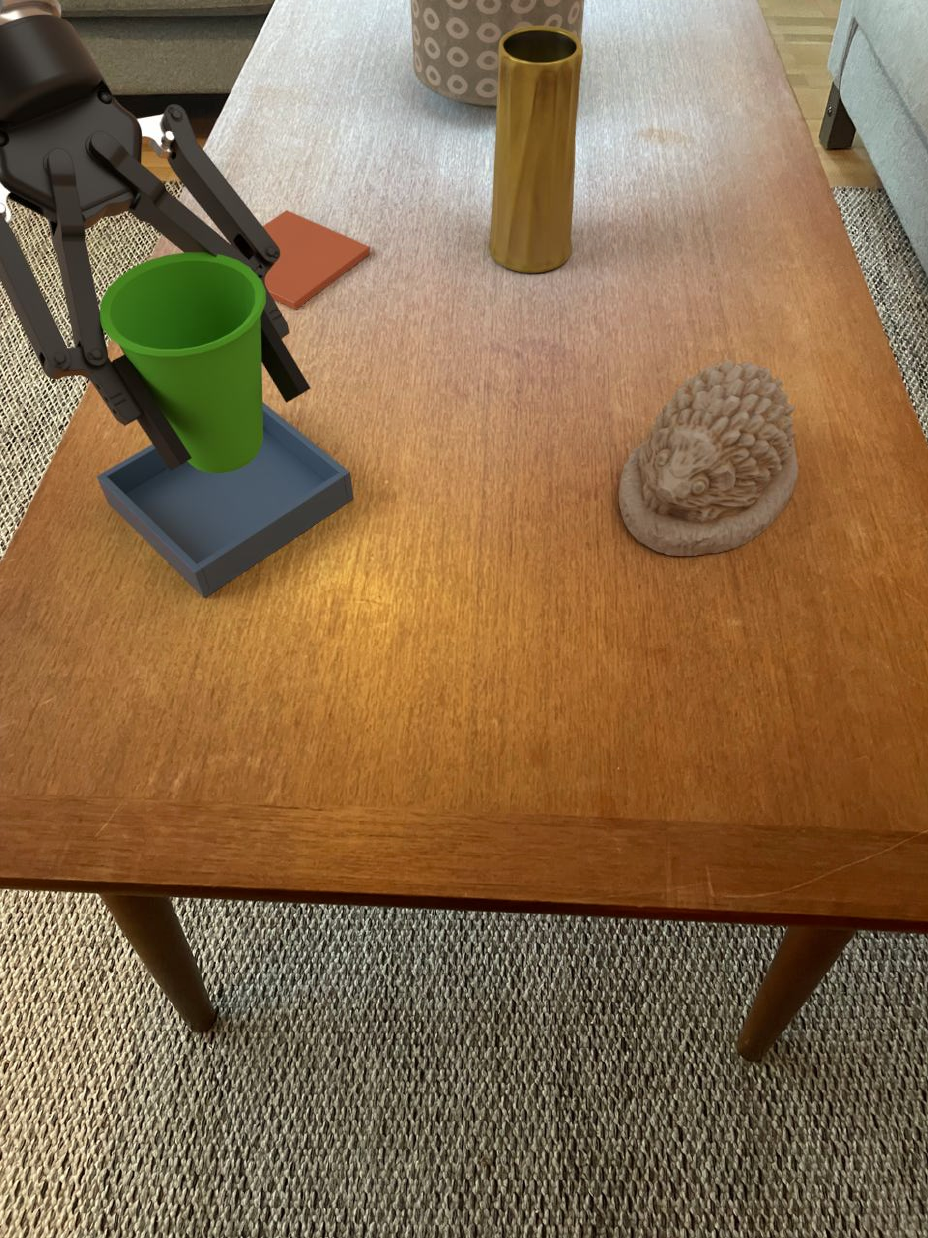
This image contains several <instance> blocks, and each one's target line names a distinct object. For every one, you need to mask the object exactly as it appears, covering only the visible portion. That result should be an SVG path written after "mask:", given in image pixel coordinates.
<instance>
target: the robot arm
mask: <svg viewBox="0 0 928 1238" xmlns="http://www.w3.org/2000/svg"><path fill="white" fill-rule="evenodd" d="M62 13H63V12H62V5H61V3H60V2H59V0H0V282H1V284H2V286H3V288H4V291H5V293H6V294H7V297H8V299H9V301H10V304H11V305H12V307H13V310H14V312H15V314H16V316H17V318H18V320H19V322H20V324H21V327H22V329H23V331H24V333H25V335H26V337H27V339H28V342H29V344H30V346H31V348H32V350H33V352H34V354H35V356H36V358H37V360H38V361H37V362H39V365H40V367H41V368H42V371H43V373H44V374H45V376H46V377H48V379H51V380H61V379H63V378H67V377H72V376H73V377H74V376H81V377H83V378H85V379H87V380H89V381H90V383H91V384H92V385H93V388H95V390H96V391H97V393H98V395H99V396H100V397H101V399H102V401H103V403H104V404H106V406H107V408H108V410H109V411H110V412H111V414H112V416H113V417H114V419H115V420H116V421H117V422H119V423H120V424H121V425H122V426H124V427H126V426H128V425H129V424H131V423H133V422H135V421H137V422H138V424H139V426H140V427H141V429H142V430H143V432H144V433H145V435H146V436H147V438H148V439H149V441H150V442H151V445H152V444H153V445H154V447H155V448H156V450H157V451H158V453H159V455H160V456H161V458H162V459H163V461H164V462H165V464H166V465H167V467H168V468H169V470H170V471H171V470H173V469H175V468H177V467H178V466H180V465H182V464H183V463H185V462H186V461H188V460H190V459H191V458H192V457H191V456H190V454H189V453H188V451H187V450H186V448H185V446H184V445H183V443H182V442H181V440H180V439H179V437H178V436H177V434H176V432H175V431H174V429H173V428H172V426H171V425H170V423H169V422H168V420H167V418H166V417H165V415H164V414H163V412H162V411H161V409H160V408H159V406H158V404H157V403H156V401H155V400H154V398H153V397H152V395H151V394H150V392H149V391H148V389H147V387H146V386H145V384H144V383H143V381H142V380H141V378H140V377H139V375H138V373H137V372H136V370H135V369H134V367H133V366H132V364H131V363H130V361H129V359H128V358H127V356H126V355H125V354H124V353H123V354H122V355H120V356H118V357H117V358H115V359H113V360H111V359H110V357H109V351H108V347H107V342H106V337H105V336H106V335H105V331H104V330H103V328H102V326H101V322H100V306H99V302H98V295H97V291H96V287H95V281H94V277H93V271H92V266H91V262H90V256H89V251H88V247H87V240H86V230H88V229H90V228H93V227H94V226H96V224H97V223H98V222H100V220H102V219H103V218H110V217H115V216H119V215H121V214H123V213H126V212H128V213H130V214H131V215H132V216H134V217H135V219H137V220H138V221H140V222H144V223H146V224H149V225H150V226H151V227H152V228H153V229H155V230H156V231H157V232H158V233H160V234H161V235H162V236H163V237H164V238H166V240H168V241H169V242H170V243H171V244H173V245H174V246H175V247H177V248H178V249H179V250H180V251H181V252H182V253H185V252H206V253H208V254H210V255H212V256H214V257H217V254H219V255H224V256H227V257H230V258H233V259H236V260H238V261H240V262H241V263H243V264H245V265H246V266H248V267H250V268H251V269H252V270H253V272H254V273H255V274H256V275H257V276H258V277H259V278H260V279H261V281H262V283H263V286H264V288H265V291H266V303H265V306H264V308H263V311H262V313H261V316H260V321H261V364H262V366H263V367H264V369H265V370H266V372H267V373H268V376H269V377H270V379H271V380H272V381H273V384H274V385H275V387H276V388H277V390H278V392H279V393H280V395H281V397H282V398H283V400H284V402H285V404H287V403H289V402H291V401H293V400H294V399H297V397H299V396H301V395H302V394H304V393H305V392H307V391H309V390H311V386H310V384H309V383H308V381H307V379H306V378H305V376H304V374H303V372H302V371H301V369H300V367H299V366H298V365H297V363H296V361H295V359H294V357H293V356H292V354H291V353H290V351H289V349H288V347H287V346H286V345H285V342H284V341H283V339H285V338H286V337H287V336H288V335H289V334H290V333H291V332H290V327H289V323H288V322H287V320H286V318H285V317H284V315H283V313H282V312H281V310H280V308H279V306H278V305H277V303H276V302H275V301H276V300H274V299H273V298H272V296H271V295H270V293H269V291H268V290H267V288H266V286H265V275H266V274H267V272H268V271H269V270H270V269H271V267H272V266H273V265H274V264H275V262H276V261H277V260H278V259H279V258H280V249H279V247H278V246H277V244H276V243H275V242H274V241H273V239H272V238H271V237H270V235H269V234H268V233H267V232H266V230H265V229H264V228H263V226H264V225H262V224H261V222H260V221H259V220H258V218H257V217H256V216H255V215H254V213H253V212H252V210H251V209H250V208H249V207H248V206H247V204H246V203H245V202H244V200H243V199H242V198H241V196H240V195H239V194H238V192H237V191H236V190H235V189H234V188H233V186H232V185H231V183H229V181H228V180H227V179H226V177H225V176H224V175H223V174H222V172H221V171H220V170H219V168H218V167H217V166H216V164H215V163H214V162H213V160H212V159H211V158H210V156H208V154H207V153H206V152H205V150H204V149H203V148H202V146H201V145H200V144H199V142H198V139H197V137H196V135H195V132H194V130H193V127H192V125H191V121H190V119H189V117H188V114H187V112H186V110H185V109H184V108H183V107H182V106H181V105H179V104H176V103H172V104H169V105H168V106H167V107H166V108H165V110H164V113H162V114H157V115H152V116H145V117H139V118H137V117H136V116H135V115H134V114H133V113H132V112H130V111H128V110H127V109H126V108H125V107H123V106H122V104H120V103H119V102H118V101H117V99H116V98H115V97H114V95H113V93H112V91H111V89H110V87H109V85H108V83H107V81H106V78H105V77H104V76H103V73H102V72H101V71H100V69H99V67H98V65H97V64H96V63H95V61H94V59H93V57H92V56H91V54H90V52H89V50H88V49H87V47H86V45H85V44H84V42H83V40H82V39H81V37H80V36H79V34H78V32H77V31H76V29H75V27H74V26H73V24H71V23H70V22H69V21H68V20H66V19H64V18H62ZM143 145H148V146H149V147H151V149H152V150H153V151H154V153H155V154H156V156H157V157H158V158H160V159H165V160H167V162H168V164H169V166H170V168H171V169H172V172H173V173H174V174H175V175H176V177H177V178H178V180H179V182H181V183H182V185H183V186H184V187H185V188H186V190H187V191H188V192H189V194H190V195H191V196H192V197H193V198H194V200H195V201H196V203H197V204H198V205H199V206H200V207H201V209H203V211H204V212H205V214H206V215H207V216H208V218H209V219H210V220H211V222H213V224H214V225H215V226H216V228H217V229H218V230H219V231H220V233H221V234H222V235H223V236H221V234H219V233H218V232H217V231H215V229H213V228H212V227H211V226H209V225H208V224H207V223H206V222H205V221H204V220H203V219H201V218H200V217H199V216H198V215H197V214H195V213H194V212H193V211H192V210H191V209H190V208H188V207H187V206H186V205H185V204H184V203H182V202H181V201H180V200H178V198H177V197H175V196H174V195H173V194H172V193H170V192H169V191H168V189H167V187H166V185H165V183H164V182H163V181H162V180H161V179H160V178H159V177H157V175H155V174H154V173H153V172H151V171H150V170H149V169H148V168H146V167H145V165H143V164H142V158H143V157H142V155H143ZM9 200H11V201H13V202H14V203H16V204H18V205H20V206H22V207H24V208H26V209H28V210H30V211H31V212H34V213H36V214H37V215H39V216H41V217H43V218H44V219H47V222H48V227H49V231H50V236H51V242H52V247H53V250H54V253H55V254H56V258H57V263H58V268H59V274H60V278H61V284H62V289H63V294H64V298H65V299H64V300H65V303H66V308H67V309H66V310H67V313H68V318H69V319H68V320H69V323H70V328H71V334H72V338H73V344H74V346H73V347H68V346H67V344H66V342H65V340H64V337H63V336H62V333H61V331H60V329H59V327H58V325H57V322H56V320H55V318H54V316H53V314H52V312H51V309H50V307H49V305H48V303H47V301H46V298H45V296H44V294H43V292H42V289H41V288H40V286H39V283H38V282H37V280H36V277H35V275H34V273H33V271H32V269H31V267H30V264H29V262H28V260H27V258H26V256H25V254H24V251H23V249H22V248H21V245H20V243H19V241H18V238H17V236H16V235H15V232H14V231H13V229H12V227H11V223H12V215H13V214H12V211H11V209H10V207H9V205H8V203H7V202H8V201H9Z"/></svg>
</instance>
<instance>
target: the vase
mask: <svg viewBox="0 0 928 1238" xmlns="http://www.w3.org/2000/svg"><path fill="white" fill-rule="evenodd" d="M583 57H584V51H583V44H582V40H581V41H580V39H579V38H578V37H577V36H576V35H574V34H573V33H571V32H569V31H567V30H564V29H561V28H557V27H550V26H527V27H521V28H517V29H514V30H512V31H510V32H508V33H507V34H505V35H504V36H503V37H502V38H501V40H500V42H499V48H498V87H497V109H495V110H496V111H495V133H494V134H495V135H494V153H493V154H494V156H493V173H492V199H491V200H492V201H491V214H490V215H491V216H490V231H489V240H488V251H489V253H490V255H491V257H492V259H493V260H494V261H495V262H496V263H497V264H499V265H500V266H501V267H502V268H505V269H507V270H510V271H514V272H516V273H517V272H518V273H522V274H523V273H524V274H536V273H539V274H540V273H545V272H549V271H552V270H554V269H557V268H559V267H560V266H562V265H563V264H565V263H566V262H568V260H569V259H570V256H571V255H572V252H573V244H572V243H573V242H572V227H573V217H574V215H573V214H574V200H575V199H574V198H575V197H574V196H575V176H576V175H575V174H576V147H577V146H576V141H577V140H576V135H577V120H578V119H577V118H578V108H579V98H580V97H579V96H580V84H581V82H580V81H581V73H582V63H583Z"/></svg>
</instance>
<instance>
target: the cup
mask: <svg viewBox="0 0 928 1238" xmlns="http://www.w3.org/2000/svg"><path fill="white" fill-rule="evenodd" d="M265 303H266V291H265V288H264V286H263V283H262V281H261V279H260V278H259V277H258V276H257V275H256V274H255V273H254V272H253V270H252V269H251V268H250V267H248V266H246V265H245V264H243V263H241V262H240V261H238V260H236V259H233V258H230V257H227V256H224V255H219V254H217V257H214V256H212V255H210V254H208V253H206V252H185V253H184V252H180V253H171V254H166V255H162V256H158V257H156V258H152V259H149V260H146V261H144V262H142V263H139V264H138V265H135V266H133V267H132V268H130V269H128V270H127V271H126V272H124V273H122V274H121V275H120V276H119V277H117V278H116V279H115V280H114V281H113V282H112V284H110V286H109V287H108V288H107V289H106V291H105V293H104V295H103V296H102V298H101V302H100V306H99V311H100V322H101V326H102V328H103V331H104V333H105V334H106V335H107V336H108V338H109V339H110V340H112V341H113V342H114V343H116V344H117V345H118V347H119V348H120V350H121V351H122V353H123V355H124V354H125V355H126V356H127V358H128V359H129V361H130V363H131V364H132V366H133V367H134V369H135V370H136V372H137V373H138V375H139V377H140V378H141V380H142V381H143V383H144V384H145V386H146V387H147V389H148V391H149V392H150V394H151V395H152V397H153V398H154V400H155V401H156V403H157V404H158V406H159V408H160V409H161V411H162V412H163V414H164V415H165V417H166V418H167V420H168V422H169V423H170V425H171V426H172V428H173V429H174V431H175V432H176V434H177V436H178V437H179V439H180V440H181V442H182V443H183V445H184V446H185V448H186V450H187V451H188V453H189V454H190V456H191V457H192V458H191V459H190V460H188V461H187V462H189V463H190V464H191V465H192V466H194V467H195V468H196V469H199V470H201V471H203V472H208V473H227V472H232V471H235V470H238V469H240V468H242V467H244V466H246V465H247V464H249V463H250V462H251V461H252V460H253V459H254V458H255V457H256V456H257V454H258V453H259V450H260V448H261V445H262V442H263V408H262V402H263V378H262V377H263V370H262V369H263V368H262V366H263V364H262V362H261V321H260V316H261V313H262V311H263V308H264V306H265Z"/></svg>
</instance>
